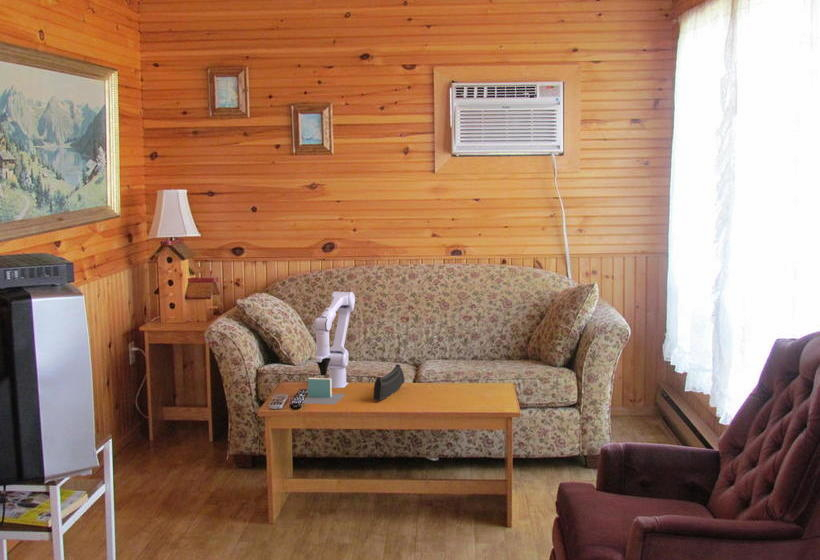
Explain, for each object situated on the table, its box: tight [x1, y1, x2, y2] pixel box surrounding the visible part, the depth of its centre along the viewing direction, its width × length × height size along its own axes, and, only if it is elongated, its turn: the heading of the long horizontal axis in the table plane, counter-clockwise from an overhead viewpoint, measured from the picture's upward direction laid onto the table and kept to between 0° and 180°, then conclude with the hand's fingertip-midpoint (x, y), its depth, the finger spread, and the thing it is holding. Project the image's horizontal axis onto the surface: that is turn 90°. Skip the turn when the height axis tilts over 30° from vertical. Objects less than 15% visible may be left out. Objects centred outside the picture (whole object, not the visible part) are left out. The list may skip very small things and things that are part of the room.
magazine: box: [372, 364, 405, 401], centre depth 405 cm, size 17×3×30 cm
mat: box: [289, 393, 346, 406], centre depth 399 cm, size 18×20×1 cm
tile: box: [307, 377, 333, 398], centre depth 401 cm, size 2×10×8 cm, turn 79°
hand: (323, 375), depth 407 cm, fingers closed
